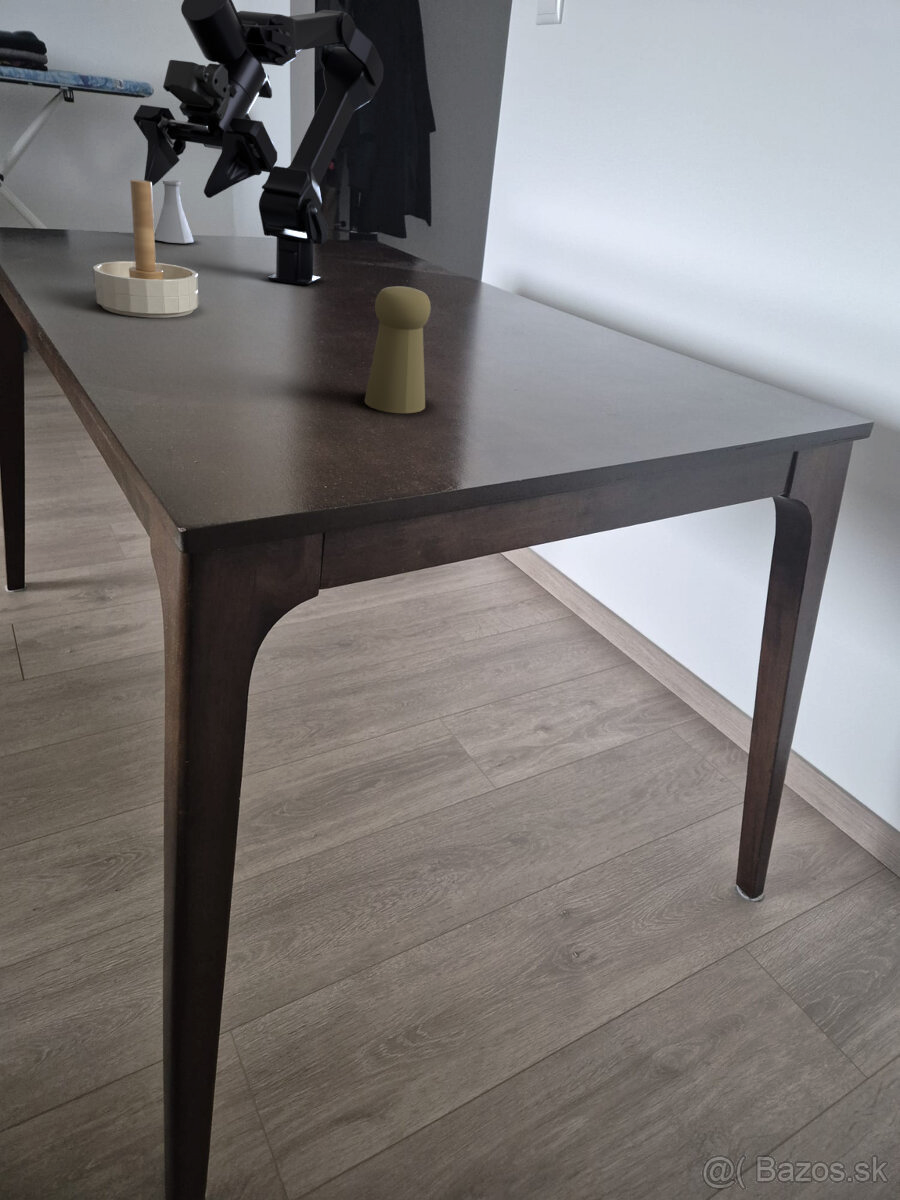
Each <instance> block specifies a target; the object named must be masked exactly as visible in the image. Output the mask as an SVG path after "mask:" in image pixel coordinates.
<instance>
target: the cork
mask: <svg viewBox="0 0 900 1200" xmlns="http://www.w3.org/2000/svg"><path fill="white" fill-rule="evenodd" d="M431 309H432V308H431V300H430V298H429V296H428V294H426V293H425V291H422V290H419V289H416V288H414V287H409V286H403V285H401V286H400V285H396V286H388V287H384V288H383V289H381V290H380V291H379V292H378V294H377V296H376V299H375V302H374V310H375V315H376V318H377V320H378V321H379V325H378V331H377V336H376V339H375V340H376V341H375V346H374V350H373V356H372V361H371V366H370V371H369V376H368V380H367V386H366V390H365V396H364V403H365V405H367V406H368V407H369V408H372V409H375V410H377V411H380V412H386V413H390V414H391V413H392V414H415V413H418V412H422V411H423V410H425V408H426V387H425V386H426V384H425V354H424V353H425V351H424V350H425V349H424V326H425V325H426V324H427V323H428V321H429V318H430V315H431Z"/></svg>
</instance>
